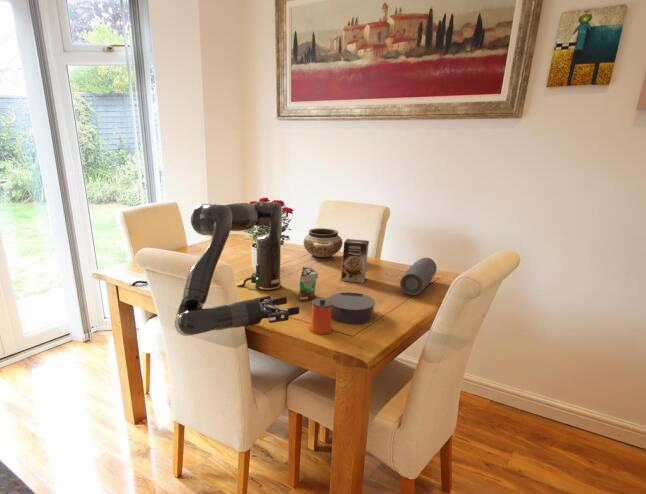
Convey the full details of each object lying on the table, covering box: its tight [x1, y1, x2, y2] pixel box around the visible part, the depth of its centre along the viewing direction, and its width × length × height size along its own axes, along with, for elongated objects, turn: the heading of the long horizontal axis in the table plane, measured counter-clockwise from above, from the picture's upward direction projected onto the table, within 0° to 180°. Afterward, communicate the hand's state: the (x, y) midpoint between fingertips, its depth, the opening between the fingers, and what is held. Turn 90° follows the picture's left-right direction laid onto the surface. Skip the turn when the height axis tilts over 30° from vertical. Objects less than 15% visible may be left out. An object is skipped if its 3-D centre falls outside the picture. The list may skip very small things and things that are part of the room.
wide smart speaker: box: [327, 292, 376, 324], centre depth 155 cm, size 15×15×5 cm
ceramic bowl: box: [303, 227, 344, 262], centre depth 215 cm, size 24×18×15 cm
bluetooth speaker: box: [399, 257, 438, 296], centre depth 175 cm, size 23×9×10 cm, turn 147°
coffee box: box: [340, 238, 370, 284], centre depth 185 cm, size 9×6×16 cm
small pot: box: [310, 297, 333, 335], centre depth 144 cm, size 7×7×10 cm
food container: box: [299, 266, 319, 302], centre depth 170 cm, size 12×6×10 cm, turn 168°
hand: (292, 304), depth 140 cm, fingers open, 8 cm apart
